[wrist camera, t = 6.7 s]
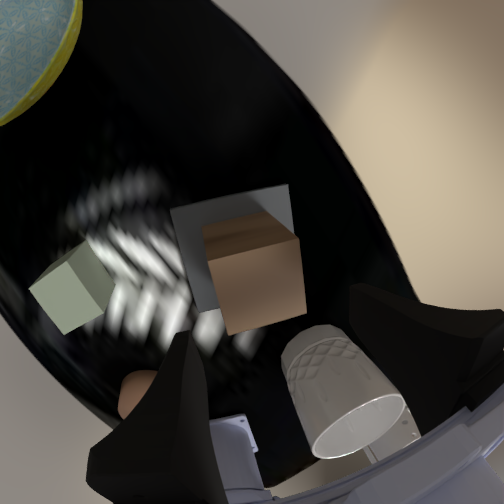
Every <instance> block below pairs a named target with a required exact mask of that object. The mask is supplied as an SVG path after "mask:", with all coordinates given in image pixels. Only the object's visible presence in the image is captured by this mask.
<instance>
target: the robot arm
mask: <svg viewBox="0 0 504 504" xmlns="http://www.w3.org/2000/svg"><path fill="white" fill-rule="evenodd" d="M349 323H350V324H351V326H352V328H353V330H354V331H355V333H356V334H357V336H358V338H359V339H360V340H361V341H362V343H363V344H364V345H365V346H366V348H367V349H368V350H369V351H370V352H371V354H372V355H373V356H374V357H375V358H376V360H377V361H378V362H379V363H380V364H381V365H382V367H383V368H384V369H385V370H386V372H387V373H388V374H389V376H390V377H391V379H392V381H393V382H394V384H395V385H396V387H397V389H398V390H399V392H400V394H401V396H402V397H403V399H404V401H405V403H406V405H407V407H408V409H409V411H410V413H411V415H412V417H413V419H414V421H415V423H416V425H417V428H418V430H419V433H420V435H421V438H419V439H417V440H416V441H414V442H413V443H411V444H409V445H407V446H406V447H404V448H402V449H401V450H399V451H397V452H395V453H393V454H392V455H390V456H388V457H386V458H384V459H382V460H380V461H378V462H376V463H374V464H372V465H370V466H368V467H366V468H364V469H361V470H359V471H357V472H355V473H353V474H350V475H348V476H345V477H343V478H341V479H338V480H336V481H333V482H330V483H328V484H325V485H322V486H320V487H317V488H314V489H311V490H308V491H305V492H302V493H299V494H296V495H292V496H289V497H285V498H279V497H277V496H274V497H272V495H271V492H270V490H264V486H263V483H262V480H261V477H260V473H259V470H258V466H257V463H256V460H255V456H254V452H257V451H258V448H257V445H256V443H255V440H254V437H253V435H252V432H251V429H250V426H249V424H248V421H247V418H246V415H245V414H237V415H232V416H228V417H223V418H219V419H214V420H209V411H208V397H207V384H206V378H205V373H204V368H203V363H202V361H201V358H200V356H199V353H198V351H197V348H196V345H195V343H194V340H193V337H192V334H191V332H190V330H187V331H183V332H178V333H176V334H175V335H174V338H173V340H172V342H171V345H170V347H169V350H168V352H167V354H166V356H165V358H164V360H163V362H162V365H161V367H160V369H159V371H158V372H157V374H156V376H155V378H154V380H153V381H152V383H151V385H150V386H149V388H148V390H147V391H146V393H145V394H144V396H143V397H142V398H141V400H140V401H139V403H138V404H137V405H136V406H135V407H134V409H133V410H132V411H131V412H130V413H129V415H128V416H127V417H126V418H125V419H124V420H123V421H122V422H121V423H120V424H119V425H118V426H117V427H116V428H115V429H114V430H113V431H112V432H111V433H109V435H107V436H106V437H105V438H103V439H102V440H101V441H100V442H98V443H97V444H96V445H94V446H93V447H92V448H91V449H90V452H89V457H88V464H87V473H86V482H87V484H88V485H89V486H90V487H91V488H92V489H93V490H94V491H96V492H97V493H99V494H100V495H102V496H103V497H105V498H106V499H108V500H110V501H111V502H113V504H504V483H503V482H502V480H501V479H500V478H499V477H498V475H497V474H496V473H495V471H494V470H493V469H492V467H490V465H489V464H488V462H487V461H486V460H485V458H486V457H487V456H488V455H489V454H490V453H491V452H492V451H493V450H494V449H495V448H496V447H497V446H498V445H499V444H500V443H501V442H502V441H503V440H504V350H503V348H504V311H502V310H501V309H493V310H458V309H449V308H443V307H437V306H433V305H427V304H424V303H420V302H417V301H413V300H410V299H407V298H404V297H401V296H398V295H395V294H392V293H390V292H387V291H384V290H382V289H379V288H376V287H373V286H371V285H368V284H364V283H358V284H355V285H352V286H350V307H349Z"/></svg>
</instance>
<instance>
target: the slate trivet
mask: <svg viewBox="0 0 504 504" xmlns="http://www.w3.org/2000/svg"><path fill="white" fill-rule="evenodd" d="M264 211H267V212H269V213H270V214H271V215H272V216H273V217H275V218H276V219H277V220H278V221H279V222H280V223H282V224H283V225H284V226H285V227H286V228H287V229H289V230H290V231H291V232H292V233H293V234H294V229H293V221H292V213H291V205H290V197H289V190H288V185H287V184H281V185H276V186H270V187H265V188H260V189H255V190H250V191H245V192H241V193H236V194H231V195H226V196H222V197H217V198H213V199H209V200H204V201H200V202H196V203H191V204H187V205H183V206H179V207H175V208H171V209H170V213H171V217H172V221H173V225H174V229H175V233H176V236H177V240H178V244H179V248H180V251H181V255H182V258H183V262H184V266H185V269H186V272H187V276H188V279H189V283H190V286H191V289H192V293H193V296H194V299H195V302H196V306H197V309H198V312H199V313H201V312H205V311H209V310H213V309H218V308H220V305H219V301H218V298H217V294H216V291H215V287H214V283H213V280H212V276H211V272H210V269H209V265H208V261H207V256H206V250H205V245H204V239H203V233H202V228H201V226H205V225H209V224H213V223H217V222H221V221H225V220H230V219H234V218H238V217H242V216H246V215H251V214H255V213H259V212H264Z"/></svg>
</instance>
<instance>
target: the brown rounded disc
mask: <svg viewBox="0 0 504 504" xmlns="http://www.w3.org/2000/svg"><path fill="white" fill-rule="evenodd" d="M157 372H158V371H154V370H139V371H135V372H132V373H130V374H128V375H127V376H126V377H125V378H124V379H123V381H122V384H121V390H120V397H119V403H118V411H119V414H120V416H121V417H122V418H123V419H125V418H126V417H127V416H128V415H129V413H130V412H131V411H132V410H133V409H134V407H135V406H136V405H137V404H138V403H139V401H140V400H141V398H142V397H143V396H144V394H145V393H146V391H147V390H148V388H149V386H150V385H151V383H152V381H153V380H154V378H155V376H156V374H157Z"/></svg>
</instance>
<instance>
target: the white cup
mask: <svg viewBox="0 0 504 504" xmlns="http://www.w3.org/2000/svg"><path fill="white" fill-rule="evenodd" d="M281 366H282V370H283V373H284V375H285V378H286V380H287V384H288V388H289V392H290V394H291V397H292V399H293V403H294V406H295V409H296V412H297V414H298V417H299V419H300V422H301V425H302V427H303V430H304V432H305V435H306V438H307V440H308V443H309V445H310V448H311V451H312V453H313V455H314V456H316V457H318V458H323V459H330V458H336V457H341V456H344V455H348V454H350V453H353V452H355V451H357V450H360V449H361V448H363V447H365V446H367V445H369V444H370V443H372V442H374V441H375V440H376V439H378V438H379V437H381V436H382V435H383V434H384V433H385V432H387V431H388V430H389V429H390V428H391V427H392V426H393V425H394V424H395V422H396V421H397V420H398V419H399V417H400V416H401V414H402V412H403V410H404V408H405V404H406V403H405V401H404V399H403V397H402V396H401V394H400V392H399V391H398V389H397V388H396V387H395V386H394V385H393V384H392V383H391V382H390V381H389V379H388V378H387V377H386V376H385V375H384V374H383V373H382V372H381V371H380V369H379V368H378V367H377V366H376V365H375V364H374V363H373V362H372V361H371V360H370V359H369V358H368V357H367V356H366V355H365V354H364V353H363V351H362V350H361V349H360V348H359V347H358V346H356V345H355V344H354V343H353V342H352V341H351V340H350V339H349V338H348V337H347V336H346V334H345V333H344V332H343V331H342V330H341V329H339V328H337V327H334V326H332V325H315V326H313V327H311V328H308V329H306V330H304V331H302V332H300V333H299V334H297V335H296V336H295V337H294V338H293V339H292V340H291V341H290V342H288V344H287V346H286V347H285V349H284V351H283V353H282V355H281Z"/></svg>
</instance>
